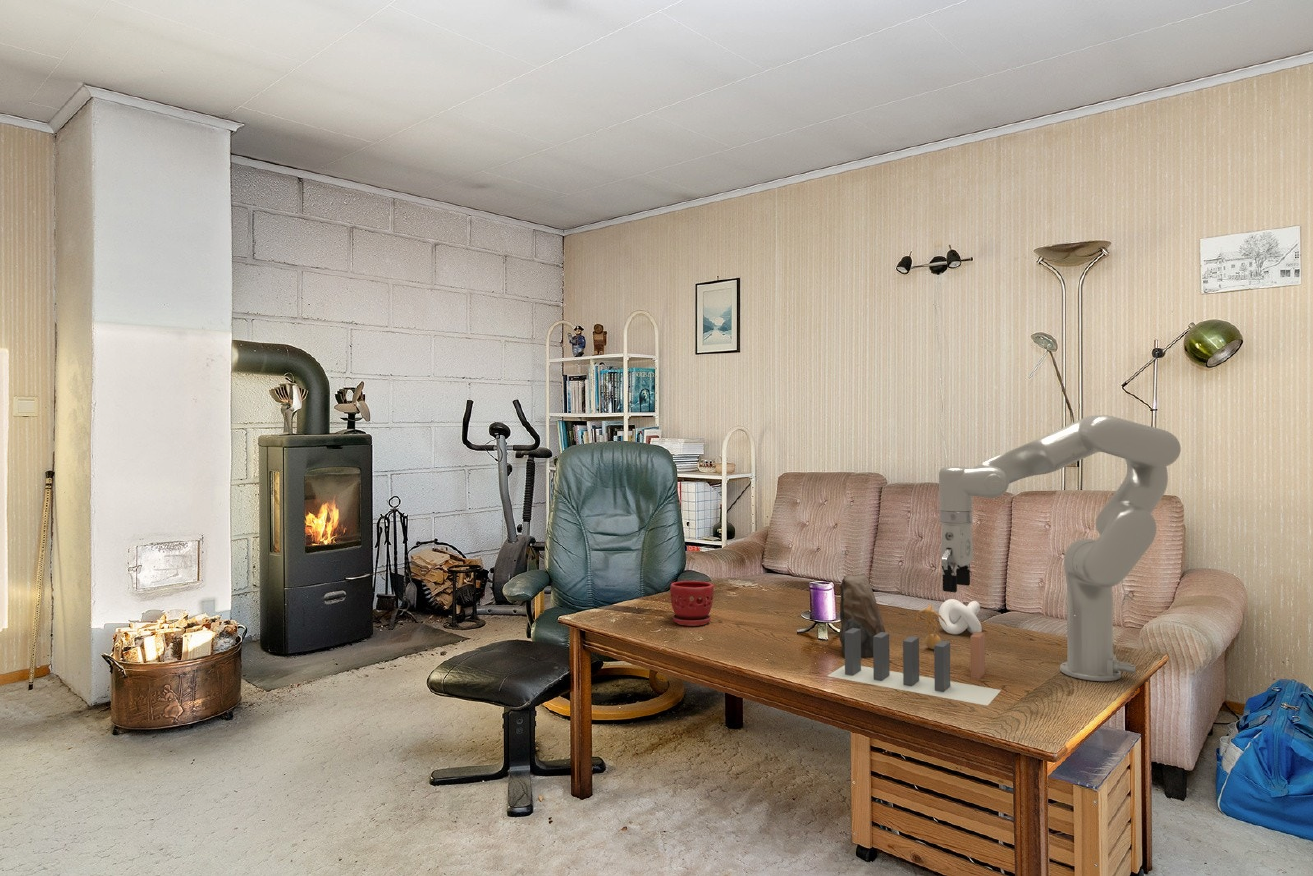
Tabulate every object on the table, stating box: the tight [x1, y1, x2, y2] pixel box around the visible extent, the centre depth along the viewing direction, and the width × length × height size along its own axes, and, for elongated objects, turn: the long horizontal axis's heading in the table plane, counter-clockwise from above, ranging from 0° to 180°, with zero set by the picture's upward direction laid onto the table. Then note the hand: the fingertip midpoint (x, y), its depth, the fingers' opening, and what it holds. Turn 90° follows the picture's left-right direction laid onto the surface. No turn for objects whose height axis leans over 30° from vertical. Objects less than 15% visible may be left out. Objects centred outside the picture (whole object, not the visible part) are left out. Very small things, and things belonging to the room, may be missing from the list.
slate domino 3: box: [902, 635, 920, 686], centre depth 183 cm, size 2×5×10 cm, turn 144°
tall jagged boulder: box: [838, 572, 891, 659], centre depth 209 cm, size 13×13×20 cm
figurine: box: [915, 604, 947, 650], centre depth 211 cm, size 8×6×12 cm
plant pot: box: [669, 580, 715, 627], centre depth 244 cm, size 13×13×12 cm
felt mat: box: [827, 664, 1002, 707], centre depth 183 cm, size 36×12×1 cm, turn 54°
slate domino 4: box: [933, 640, 951, 692], centre depth 179 cm, size 2×5×10 cm, turn 144°
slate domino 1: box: [844, 628, 862, 676], centre depth 191 cm, size 2×5×10 cm, turn 144°
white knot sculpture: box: [937, 598, 983, 636], centre depth 228 cm, size 11×12×9 cm
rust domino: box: [969, 631, 986, 680], centre depth 188 cm, size 2×5×10 cm, turn 144°
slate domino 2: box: [872, 631, 891, 681], centre depth 187 cm, size 2×5×10 cm, turn 144°
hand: (956, 588), depth 195 cm, fingers open, 9 cm apart
